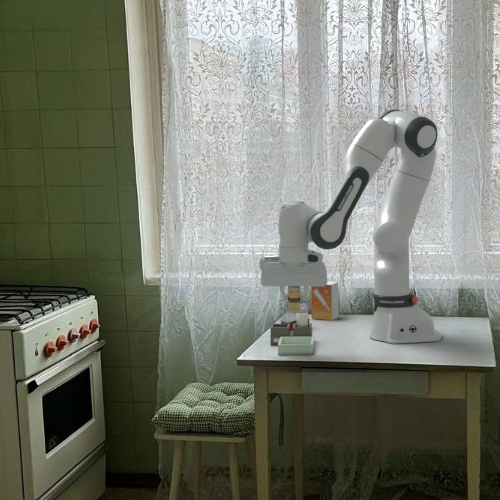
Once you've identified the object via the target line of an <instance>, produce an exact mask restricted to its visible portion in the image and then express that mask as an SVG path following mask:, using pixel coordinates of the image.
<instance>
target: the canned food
mask: <svg viewBox="0 0 500 500" xmlns="http://www.w3.org/2000/svg"><path fill="white" fill-rule="evenodd" d="M300 307H306V308H308V303H306V302H303V303H300ZM294 323H297V320H296V313H295V314H293V313H289V312H288V311H287V312H285V313H283V315H282V316H281V318H280V324H290V331H293V324H294ZM308 323H310V318H309V317H308Z"/></svg>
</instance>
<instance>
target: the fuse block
mask: <svg viewBox="0 0 500 500" xmlns="http://www.w3.org/2000/svg"><path fill="white" fill-rule="evenodd" d="M269 329H270V337H269V338H270V340H269V341H270V346H278V343H279V340H280V337H313V324H312V323H310V322H309V323H308V327H297V323H294V324H293V331H290V324H281V323H271V325H270V328H269Z"/></svg>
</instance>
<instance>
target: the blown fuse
mask: <svg viewBox="0 0 500 500" xmlns="http://www.w3.org/2000/svg"><path fill="white" fill-rule="evenodd" d="M287 292H288V294H287V295H288V301H287V303H288V308H287V309H288V311H287V312H289V313H293V314H295V313H300V312H301V308H300V304H301V302H302V301H300V295H301V286H292V287H287Z"/></svg>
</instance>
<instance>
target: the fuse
mask: <svg viewBox="0 0 500 500" xmlns="http://www.w3.org/2000/svg"><path fill="white" fill-rule="evenodd" d="M300 308H301V312H300V313H296V320H297V327H308V318H309V311H308V310H309V309H308V307H307V308H306V307H300Z"/></svg>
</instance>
